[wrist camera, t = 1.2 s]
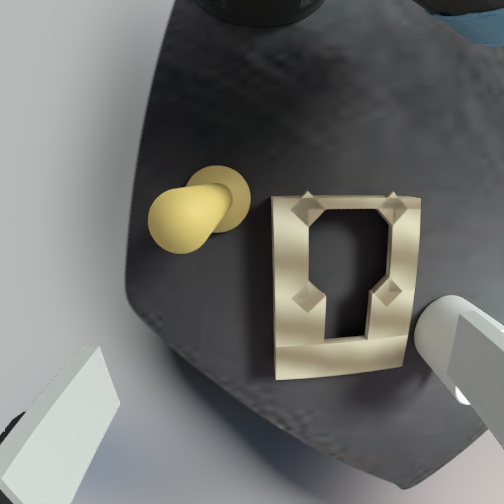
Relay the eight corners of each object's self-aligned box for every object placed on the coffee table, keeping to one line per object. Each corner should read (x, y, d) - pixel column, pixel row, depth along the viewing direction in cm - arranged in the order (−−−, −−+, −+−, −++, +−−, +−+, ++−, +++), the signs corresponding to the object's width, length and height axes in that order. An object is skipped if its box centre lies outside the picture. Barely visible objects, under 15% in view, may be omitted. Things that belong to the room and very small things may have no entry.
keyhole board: (270, 190, 30) (272, 192, 27) (406, 190, 30) (420, 192, 27) (274, 363, 34) (275, 380, 31) (391, 352, 34) (401, 366, 31)
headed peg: (183, 168, 29) (113, 160, 14) (249, 164, 29) (244, 148, 14) (187, 232, 31) (125, 287, 15) (251, 229, 31) (250, 284, 15)
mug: (412, 385, 35) (447, 437, 25) (409, 305, 33) (458, 351, 22) (464, 362, 35) (506, 405, 24) (467, 283, 32) (522, 317, 22)
